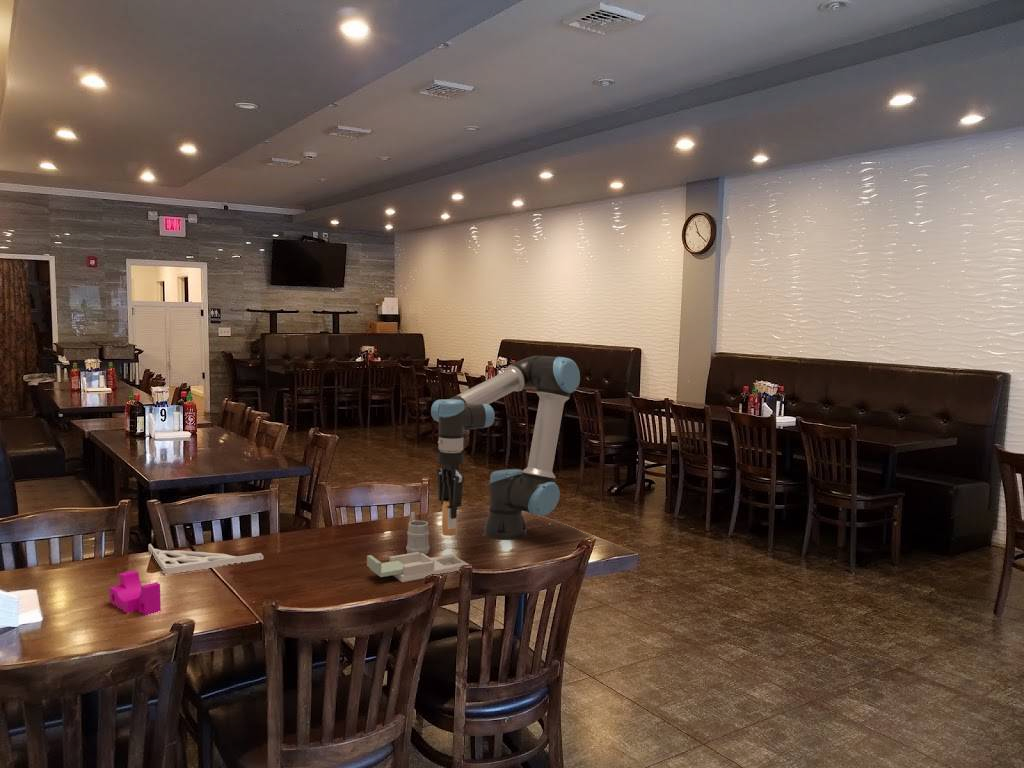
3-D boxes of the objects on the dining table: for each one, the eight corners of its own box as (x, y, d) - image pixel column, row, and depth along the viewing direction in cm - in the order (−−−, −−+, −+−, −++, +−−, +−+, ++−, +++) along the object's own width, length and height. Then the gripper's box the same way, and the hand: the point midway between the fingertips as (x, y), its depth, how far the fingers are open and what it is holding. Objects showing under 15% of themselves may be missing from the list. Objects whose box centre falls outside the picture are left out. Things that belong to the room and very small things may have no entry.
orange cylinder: (451, 531, 232) (452, 499, 231) (457, 534, 228) (458, 502, 228) (440, 533, 230) (440, 500, 229) (446, 536, 226) (446, 503, 225)
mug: (410, 557, 238) (411, 520, 237) (398, 547, 249) (399, 511, 248) (433, 554, 242) (433, 518, 241) (420, 544, 252) (421, 509, 251)
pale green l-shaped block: (397, 564, 225) (397, 550, 224) (408, 572, 218) (409, 558, 218) (366, 569, 220) (367, 555, 219) (377, 577, 213) (377, 563, 213)
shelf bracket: (148, 551, 241) (148, 543, 241) (239, 538, 257) (238, 530, 257) (165, 577, 218) (165, 568, 218) (263, 561, 234) (263, 553, 234)
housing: (451, 560, 237) (452, 546, 236) (468, 570, 228) (469, 556, 227) (386, 571, 225) (387, 557, 224) (402, 583, 216) (402, 567, 215)
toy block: (110, 603, 196) (109, 576, 195) (134, 597, 201) (134, 570, 200) (135, 619, 186) (134, 590, 186) (160, 612, 191) (160, 584, 191)
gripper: (427, 447, 231) (426, 522, 233) (452, 456, 218) (450, 535, 220) (449, 445, 235) (447, 519, 237) (474, 454, 222) (472, 531, 224)
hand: (449, 526), depth 229 cm, fingers closed on orange cylinder, 3 cm apart
